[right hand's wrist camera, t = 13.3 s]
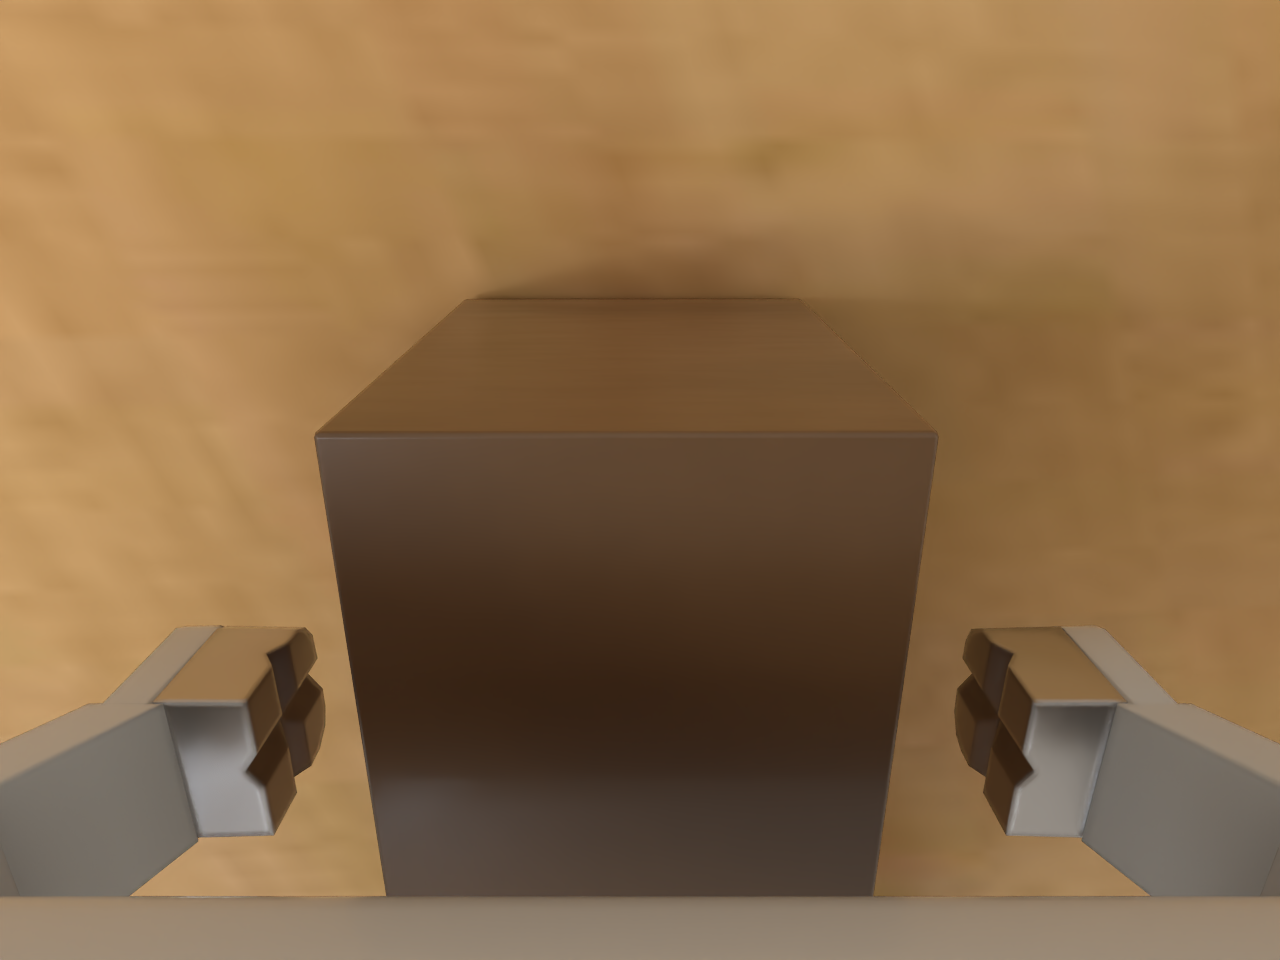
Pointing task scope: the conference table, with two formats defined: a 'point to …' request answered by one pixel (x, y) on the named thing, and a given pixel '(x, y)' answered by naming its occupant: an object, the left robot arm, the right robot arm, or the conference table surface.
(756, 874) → the post
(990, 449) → the conference table surface
